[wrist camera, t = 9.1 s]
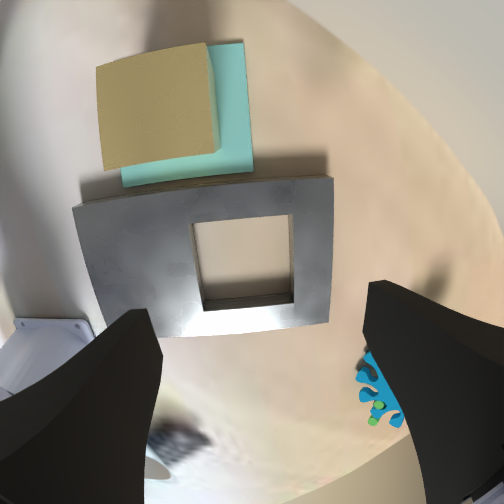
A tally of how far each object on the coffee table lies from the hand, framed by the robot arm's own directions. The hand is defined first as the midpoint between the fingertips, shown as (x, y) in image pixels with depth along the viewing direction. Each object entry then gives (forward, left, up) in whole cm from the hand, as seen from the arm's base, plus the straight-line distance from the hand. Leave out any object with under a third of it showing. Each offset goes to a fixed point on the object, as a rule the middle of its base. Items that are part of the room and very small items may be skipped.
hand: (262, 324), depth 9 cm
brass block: (-3, +7, -10) cm, 12 cm away
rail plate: (-3, -2, -10) cm, 10 cm away
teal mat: (-3, +8, -10) cm, 13 cm away
